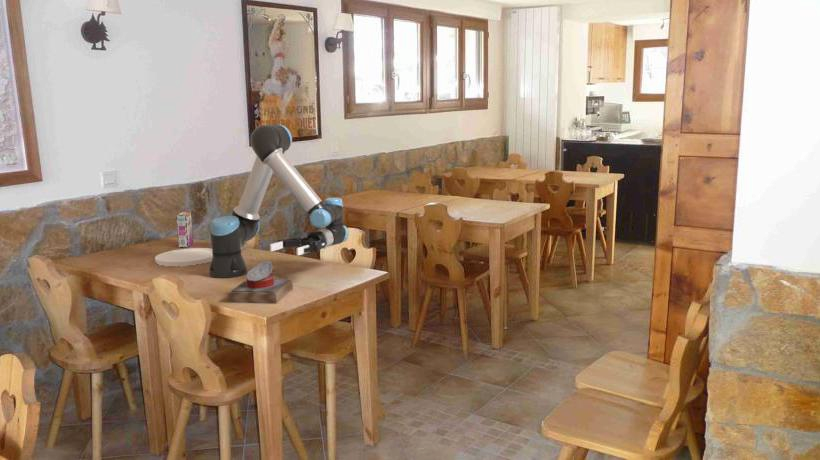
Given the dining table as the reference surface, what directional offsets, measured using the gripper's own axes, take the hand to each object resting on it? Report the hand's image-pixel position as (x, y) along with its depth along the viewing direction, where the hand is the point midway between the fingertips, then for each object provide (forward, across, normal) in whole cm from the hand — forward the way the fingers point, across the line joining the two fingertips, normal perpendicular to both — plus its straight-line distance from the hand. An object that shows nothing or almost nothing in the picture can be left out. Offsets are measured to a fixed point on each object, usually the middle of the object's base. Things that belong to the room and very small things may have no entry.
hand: (283, 249), depth 261 cm
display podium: (+13, 0, -15) cm, 20 cm away
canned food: (+13, 0, -11) cm, 17 cm away
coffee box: (-40, +68, -16) cm, 80 cm away
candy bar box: (-34, +98, -16) cm, 105 cm away
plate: (-14, +73, -16) cm, 76 cm away
